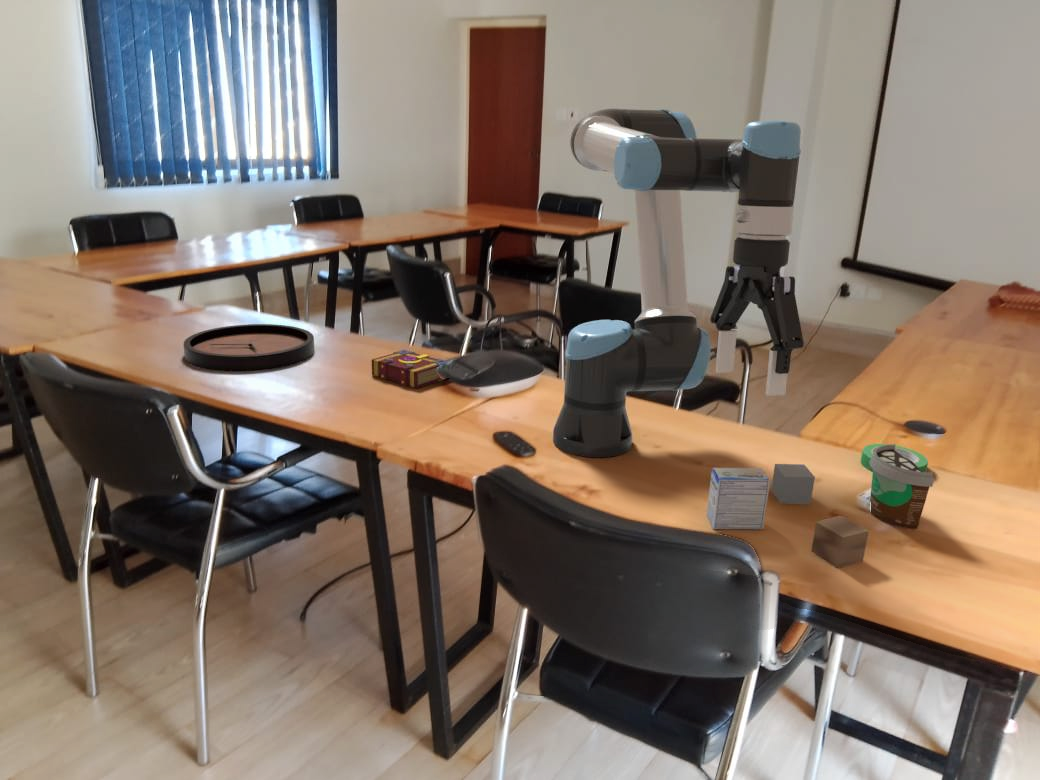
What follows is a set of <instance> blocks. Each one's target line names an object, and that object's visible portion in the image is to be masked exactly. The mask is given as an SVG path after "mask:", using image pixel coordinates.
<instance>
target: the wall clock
mask: <svg viewBox="0 0 1040 780" xmlns="http://www.w3.org/2000/svg"><path fill="white" fill-rule="evenodd" d="M315 351H316V350H315V337H314V334H313V333H312V332H310V331H309V330H306V329H304V328H300V327H297V326H293V325H292V326H291V325H284V324H272V323H271V324H270V323H269V324H268V323H259V324H258V323H257V324H256V323H253V324H250V323H249V324H238V325H237V324H236V325H227V326H221V327H216V328H211V329H206V330H203V331H199V332H197V333H196V332H195V333H194V334H192V335H190V336H188V337H187V338H186V339H185V340H184V341H183V352H184V354H183V355H184V359H186V360H185V361H186V363H188V364H189V363H190V364H189V365H191V364H192V365H191V366H193V365H194V366H193V367H195V366H197V367H196V368H199V367H200V369H203V368H204V370H207V371H208V370H209V371H218V372H228V373H229V372H230V373H231V372H234V373H235V372H239V373H241V372H242V373H243V372H259V371H268V370H274V369H281V368H284V367H289V366H293V365H296V364H298V363H299V364H300V363H302V362H304V361H306V360H308V359H310V358H311V357H313V356H314V354H315Z"/></svg>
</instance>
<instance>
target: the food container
mask: <svg viewBox="0 0 1040 780" xmlns="http://www.w3.org/2000/svg"><path fill="white" fill-rule="evenodd" d="M895 445H896V446H897V444H893V443H891V444H890V445H883V446H880V447H878V448H877V449H876V451H875V452H874V453H873V455H872V457H871V459H870V462H869V464H870V466H871V468H872V469H873V472H872V475H871V487H870V488H871V489H870V497H869V503H870V502H871V513H870V514H871V515H872V516H873V517H874V518H876V519H877V520H879V521H881V522H883V523H885V524H888V525H891V526H895V527H897V528H902V529H903V528H904V529H910V530H911V529H913V530H914V529H915V530H917V529H918V527H919V524H920V521H921V517H922V514H923V512H924V511H923V510H924V507H925V503H926V500H927V496H928V493H929V490H930V488H933V486H934V485H933V484H934V477H933V476H934V473H933V472H927V471H926V472H922V471H921V470H920V469H919V468H918V467H917V466H916V465H915V464H914V463H913V462H912V461H911V460H909V459H907V458H905V457H903V456H902V455H900V454H899V453H898V452H896V451H895Z"/></svg>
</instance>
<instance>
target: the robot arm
mask: <svg viewBox="0 0 1040 780" xmlns="http://www.w3.org/2000/svg"><path fill="white" fill-rule="evenodd" d="M569 141H570V142H569V143H570V149H571V150H570V151H571V154H572V156H573V157H574V159H575V160H576V162H577V163H578V164H579V165H581V166H582V167H584V168H586V169H588V170H591V171H596V172H601V171H602V172H609V173H612V174H613V175H614V178H615V180H616V184H617V185H618V187H620V188H621V189H624V190H631V191H632V190H633V192H634V198H635V199H634V201H635V210H636V211H635V212H636V213H635V214H636V215H635V216H636V231H637V232H636V233H637V249H638V252H637V253H638V267H639V280H640V281H639V282H640V297H641V298H640V299H641V300H640V301H641V312H640V314H639V316H638V317H637V318H636V319H635V320H634V328H632V327H631V324H630V323H628V322H627V321H625V320H624V321H623V320H619V319H614V320H611V319H599V320H597V319H596V320H591V321H587V322H583V323H580V324H578V325H577V326H575V327H573V328H572V329H571V330H569V331H570V332H569V333H568V336H567V341H566V342H567V343H566V349H565V352H564V353H565V373H564V377H565V378H564V396H563V404H562V406H561V410H560V412H559V414H558V417H557V419H556V422H555V425H554V427H553V431H552V432H553V436H552V441H553V442H552V443H553V445H555V446H556V448H558V449H559V450H561V451H563V452H565V453H568V454H572V455H575V456H580V457H587V458H609V457H616V456H619V455H622V454H625V453H627V452H628V451H630V450H631V448H632V445H633V444H632V443H633V442H632V441H633V432H632V428H631V423H630V419H629V416H628V413H627V408H626V402H627V401H626V399H627V393H628V392H646V391H652V392H653V391H671V392H675V391H679V390H689V389H694V388H696V387H697V386H699V385H700V384H701V383H702V381H703V380H704V378H705V376H706V374H707V371H708V368H709V365H710V359H711V340H710V337H709V334H708V332H707V330H706V329H705V328H702V327H699V326H698V322H697V316H696V315H695V314H694V313H693V312H691V311H690V310H689V308H688V296H687V295H688V294H687V279H686V278H687V277H686V276H687V275H686V262H685V249H684V233H683V218H682V215H683V213H682V199H681V198H682V197H681V191H684V192H686V191H687V192H689V191H692V192H721V193H727V192H729V193H738V199H737V214H736V225H735V232H736V234H738V235H739V237H738V236H737V237H736V238H735V239H734V242H733V254H732V261H733V263H734V264H735V265H737V266H735V265H733V266H729V265H728V266H726V268H725V275H724V280H723V283H722V286H721V289H720V291H719V294H718V296H717V299H716V302H715V305H714V307H713V310H712V313H711V315H710V319H709V320H710V323H711V324H715V327H716V329H717V331H718V333H717V343H716V359H715V361H716V362H715V373H716V374H723V373H725V374H726V373H734V369H735V368H734V367H735V366H734V365H735V355H736V347H737V346H736V344H737V335H738V334H737V333H738V331H737V329H738V326H737V323H738V322H739V320H740V318H741V317H742V315H743V313H745V311H746V309H747V308H748V306H749V305H750V304H751V303H752V304H753V305H756V306H757V308H758V309H759V310H761V311H762V315H763V317H764V320H765V323H766V326H767V330H768V333H769V335H770V339H771V341H772V344H773V345H772V347H770V348H769V355H768V367H767V373H766V374H767V375H766V386H765V396H767V397H773V396H774V397H775V396H777V397H778V396H786V390H787V382H788V374H789V372H790V368H791V367H790V366H791V360H792V359H791V357H792V351H793V350H795V349H802V348H803V347H804V337H803V333H802V326H801V321H800V316H799V315H800V314H799V309H798V305H797V299H796V294H795V293H796V278H795V277H794V276H781V269H782V268H783V267H785V266H787V265H788V263H789V255H790V247H791V246H790V245H791V242H790V240H789V239H787V237H788V236H790V235H792V230H793V219H794V203H795V197H796V191H797V190H796V187H797V181H798V173H799V172H798V171H799V164H800V163H799V162H800V156H801V152H802V151H801V148H800V146H801V126H800V125H799V124H798V123H797V122H794V121H787V120H786V121H780V120H777V121H776V120H763V121H751V122H748V123H747V125H746V126H745V128H744V132H743V137H742V138H741V139H739V138H738V139H736V138H735V139H733V138H732V139H731V138H730V139H729V138H697V133H696V128H695V126H694V123H693V122H692V120H691V118H690V117H689V116H687V114H686V113H683V112H681V111H677V110H676V111H675V110H668V109H659V110H657V109H655V110H654V109H629V108H628V109H627V108H626V109H625V108H605V109H599V110H597V111H593V112H591V113H589V114H586V116H584V117H583V118H581V119H580V120H579V121H578V122H577V123H576V125H575V126H574V128H573V130H572V131H571V135H570V140H569Z"/></svg>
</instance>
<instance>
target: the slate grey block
mask: <svg viewBox="0 0 1040 780" xmlns="http://www.w3.org/2000/svg"><path fill="white" fill-rule="evenodd" d="M773 467H774V469H773V475H772V483H771V488H770V489H771V492H772V493H773V495H774V496H775V498H776V500H779V501H780V502H779V501H778V502H779V504H780V503H789V504H788V505H791V504H792V505H811V503H812V498H813V497H812V496H813V491H814V487H815V479H816V476H815V475H814V474H813V473H812V471H811V470H810V469H809V468H808V467H807V466H806V465H805V464H797V463H795V464H793V463H792V464H791V463H790V464H789V463H788V464H787V463H774V466H773Z"/></svg>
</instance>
